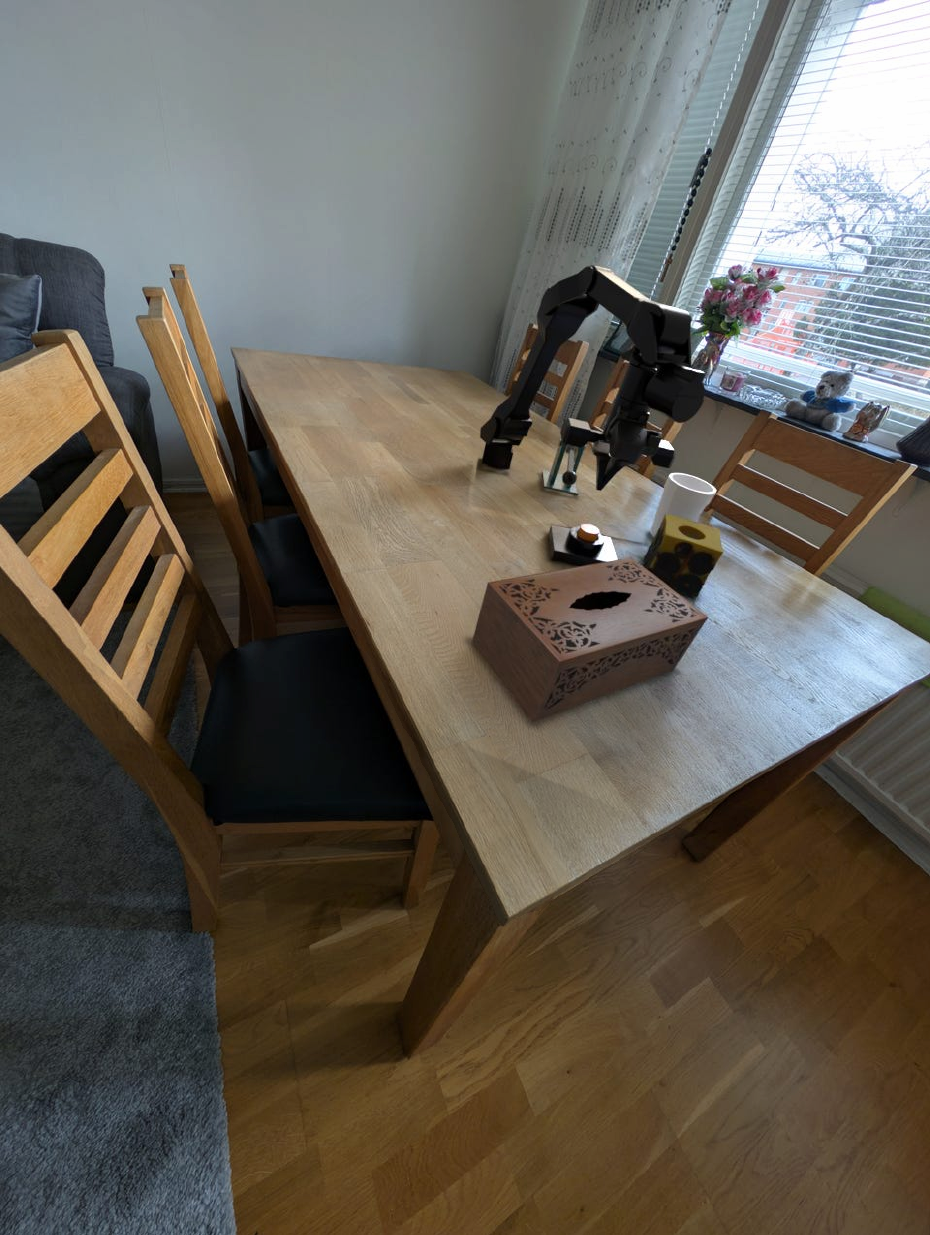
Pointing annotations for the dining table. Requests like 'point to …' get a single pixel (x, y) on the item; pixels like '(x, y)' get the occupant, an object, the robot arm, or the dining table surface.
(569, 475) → the lever
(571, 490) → the teal pendulum stand
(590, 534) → the button
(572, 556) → the button box
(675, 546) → the yellow cube tissue box
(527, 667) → the tissue box cover
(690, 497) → the foam cup
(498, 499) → the dining table surface
